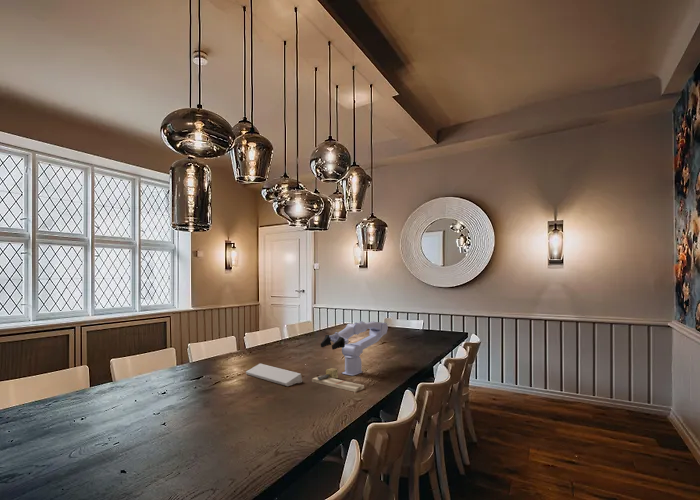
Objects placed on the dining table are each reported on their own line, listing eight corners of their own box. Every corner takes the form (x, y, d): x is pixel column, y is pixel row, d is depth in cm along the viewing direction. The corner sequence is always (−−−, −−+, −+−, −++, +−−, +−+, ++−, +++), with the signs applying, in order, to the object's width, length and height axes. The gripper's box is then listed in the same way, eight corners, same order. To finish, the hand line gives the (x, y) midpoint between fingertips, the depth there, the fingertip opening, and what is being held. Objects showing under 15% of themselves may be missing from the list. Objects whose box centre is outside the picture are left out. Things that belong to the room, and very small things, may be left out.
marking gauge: (331, 377, 201) (331, 367, 201) (337, 378, 198) (337, 368, 198) (316, 382, 191) (316, 372, 191) (321, 384, 188) (321, 374, 188)
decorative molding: (288, 392, 185) (302, 382, 192) (286, 383, 184) (300, 373, 192) (247, 379, 207) (261, 371, 214) (245, 371, 206) (260, 363, 214)
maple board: (320, 378, 198) (320, 375, 198) (364, 388, 181) (364, 385, 181) (311, 381, 192) (311, 378, 193) (355, 392, 175) (355, 388, 176)
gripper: (331, 327, 207) (315, 337, 197) (352, 330, 198) (336, 341, 188) (334, 339, 209) (317, 349, 198) (354, 342, 199) (338, 354, 189)
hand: (326, 346), depth 193 cm, fingers open, 7 cm apart
